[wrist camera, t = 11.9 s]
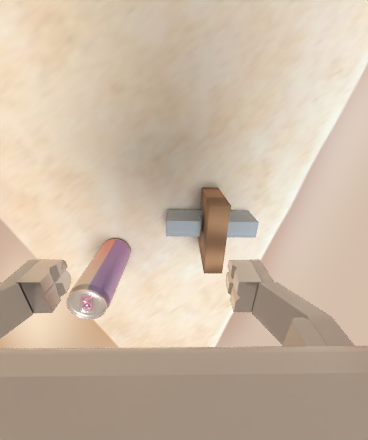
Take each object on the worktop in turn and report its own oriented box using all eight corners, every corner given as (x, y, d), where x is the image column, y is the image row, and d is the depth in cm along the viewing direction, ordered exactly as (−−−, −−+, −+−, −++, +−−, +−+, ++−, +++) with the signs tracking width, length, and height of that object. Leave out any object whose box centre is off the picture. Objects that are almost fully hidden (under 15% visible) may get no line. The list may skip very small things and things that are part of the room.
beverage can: (132, 239, 40) (108, 293, 27) (130, 262, 43) (106, 322, 29) (103, 235, 40) (63, 287, 26) (102, 258, 42) (65, 317, 28)
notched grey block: (168, 209, 38) (166, 220, 33) (247, 210, 38) (258, 222, 33) (168, 222, 39) (166, 236, 34) (245, 224, 39) (255, 237, 34)
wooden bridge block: (202, 187, 36) (209, 205, 27) (217, 187, 36) (230, 205, 27) (198, 242, 41) (204, 273, 32) (212, 242, 41) (221, 273, 32)
